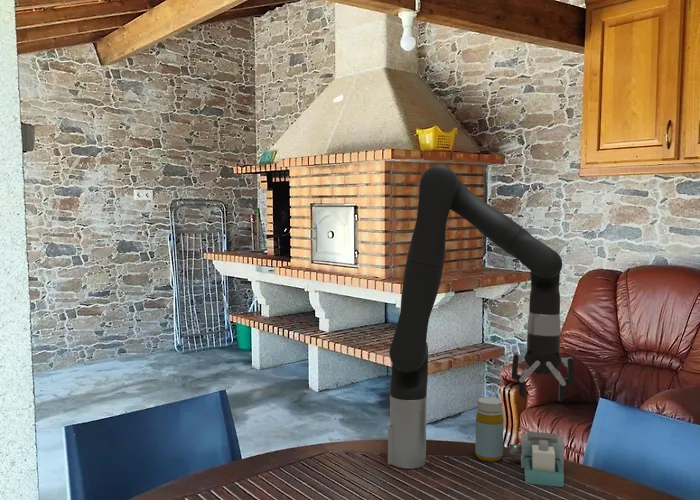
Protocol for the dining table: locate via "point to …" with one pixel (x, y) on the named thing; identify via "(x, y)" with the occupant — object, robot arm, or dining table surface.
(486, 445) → the bottle
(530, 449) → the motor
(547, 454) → the white cube with peg
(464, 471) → the dining table surface
